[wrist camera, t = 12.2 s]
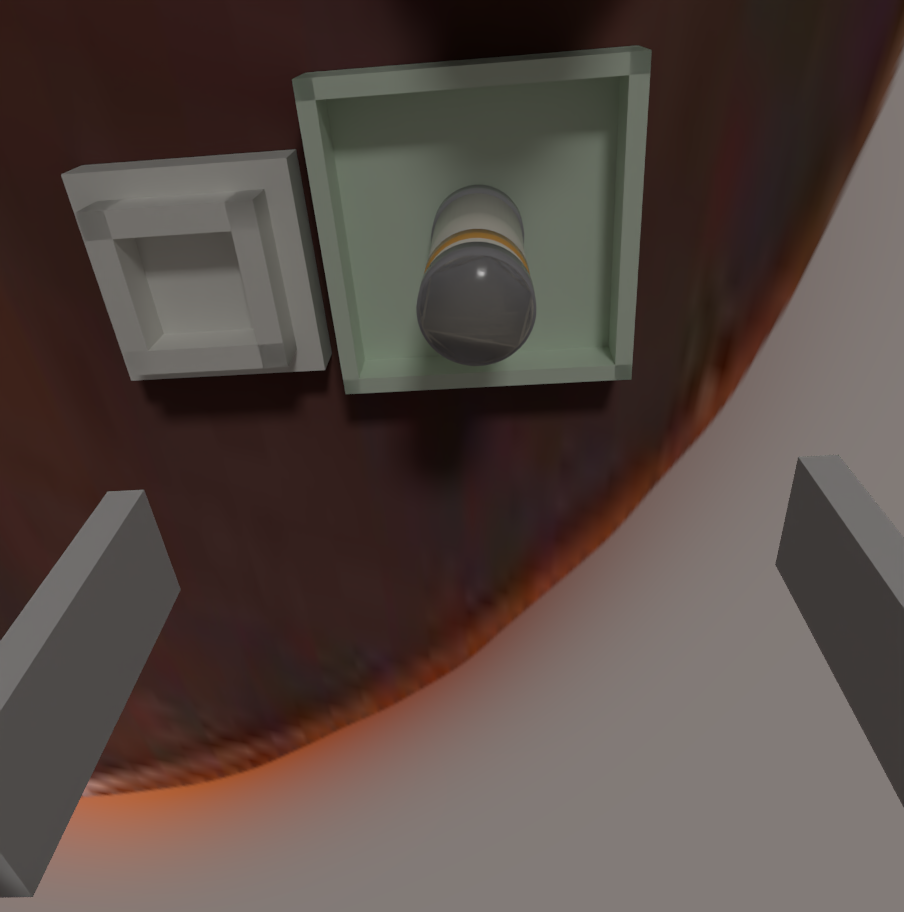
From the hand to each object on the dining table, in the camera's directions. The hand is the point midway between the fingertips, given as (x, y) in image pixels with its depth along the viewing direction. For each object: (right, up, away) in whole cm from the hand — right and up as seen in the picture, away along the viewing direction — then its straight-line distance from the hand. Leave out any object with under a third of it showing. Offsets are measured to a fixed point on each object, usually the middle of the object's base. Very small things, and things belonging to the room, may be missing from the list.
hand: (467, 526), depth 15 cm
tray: (+1, +12, +19) cm, 23 cm away
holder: (-12, +11, +21) cm, 26 cm away
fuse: (+1, +12, +19) cm, 22 cm away
